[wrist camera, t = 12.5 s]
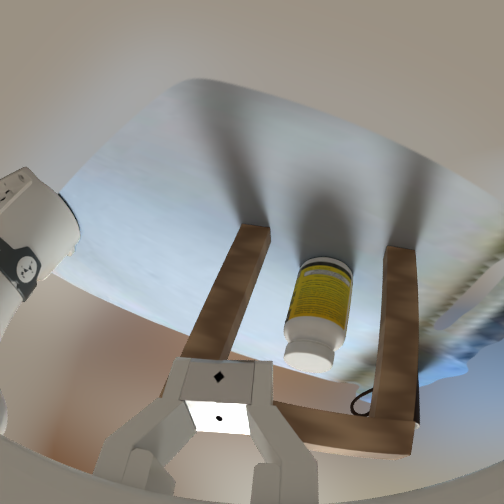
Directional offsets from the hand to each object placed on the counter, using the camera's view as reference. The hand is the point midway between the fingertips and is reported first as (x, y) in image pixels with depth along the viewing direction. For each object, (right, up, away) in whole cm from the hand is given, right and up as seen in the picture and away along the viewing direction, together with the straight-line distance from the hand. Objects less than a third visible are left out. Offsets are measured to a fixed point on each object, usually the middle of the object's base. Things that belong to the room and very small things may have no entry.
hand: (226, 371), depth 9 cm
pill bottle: (+9, +1, +25) cm, 27 cm away
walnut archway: (+8, +5, +22) cm, 24 cm away
